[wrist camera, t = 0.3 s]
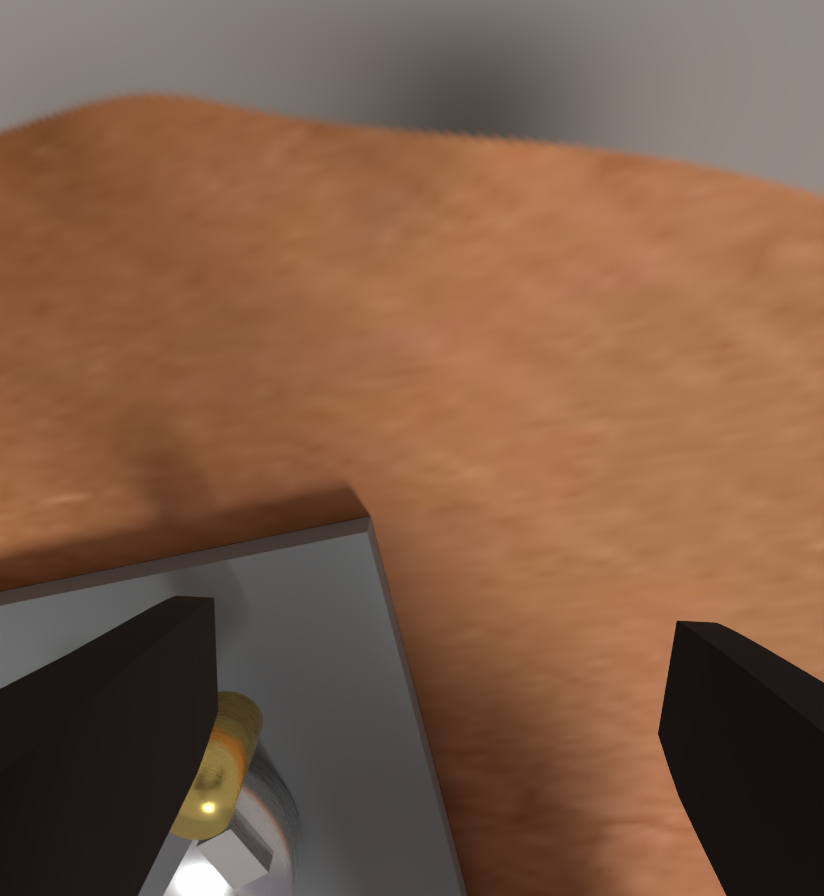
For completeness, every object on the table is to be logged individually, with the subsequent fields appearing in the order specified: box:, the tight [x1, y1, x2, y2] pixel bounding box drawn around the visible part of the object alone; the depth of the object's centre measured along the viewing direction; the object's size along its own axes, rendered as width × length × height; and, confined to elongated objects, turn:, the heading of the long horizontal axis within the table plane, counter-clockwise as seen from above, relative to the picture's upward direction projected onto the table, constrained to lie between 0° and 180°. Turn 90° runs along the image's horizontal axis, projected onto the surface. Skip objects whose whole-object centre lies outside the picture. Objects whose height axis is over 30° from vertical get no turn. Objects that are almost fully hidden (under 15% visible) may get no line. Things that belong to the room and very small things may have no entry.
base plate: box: [0, 516, 468, 896], centre depth 22 cm, size 18×18×1 cm
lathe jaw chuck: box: [138, 691, 302, 896], centre depth 19 cm, size 12×9×5 cm
